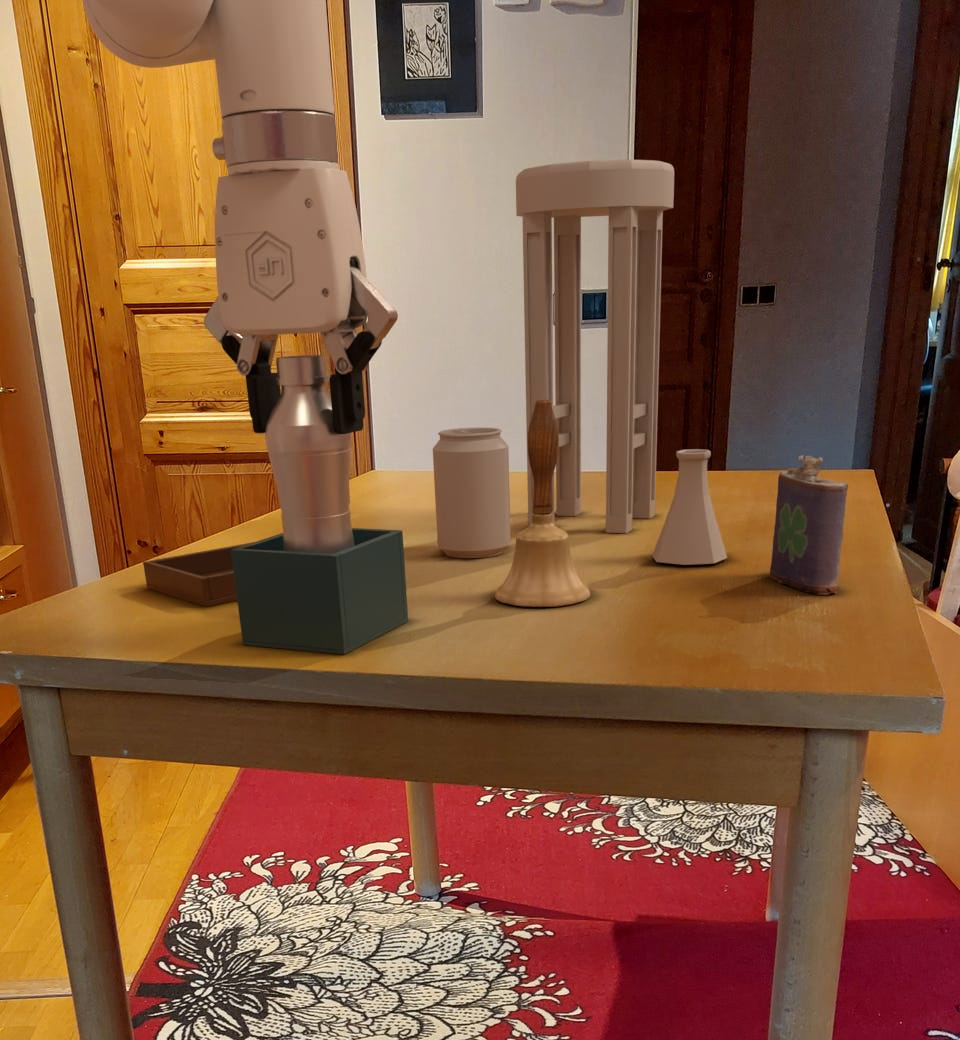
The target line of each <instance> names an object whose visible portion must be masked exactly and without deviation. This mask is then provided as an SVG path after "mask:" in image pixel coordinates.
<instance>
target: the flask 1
mask: <svg viewBox="0 0 960 1040" xmlns="http://www.w3.org/2000/svg"><path fill="white" fill-rule="evenodd" d="M675 452H676V453H675V455H676V458H677V459H678V475H677V479H676V485H675V489H674V495H673V498H672V500H671V503H670V505H669V509H668V512H667V515H666V517H665V520H664V523H663V526H662V529H661V531H660V533H659V536H658V539H657V541H656V544H655V547H654V550H653V552H652V555H651V556H652V558H653V559H654V560H655V562H656V563H663V564H672V565H673V564H674V565H682V566H691V565H692V566H693V565H711V564H717V563H719V562H722V561H723V560H725V559H728V554H727V551H726V548H725V545H724V541H723V538H722V534H721V532H720V527H719V524H718V522H717V518H716V514H715V509H714V506H713V503H712V499H711V495H710V487H709V481H708V461H709V459H710V458H711V456H712V451H711V450H709V449H701V448H691V449H690V448H689V449H680V450H677V451H675Z"/></svg>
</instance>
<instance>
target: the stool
mask: <svg viewBox="0 0 960 1040" xmlns="http://www.w3.org/2000/svg"><path fill="white" fill-rule="evenodd" d="M515 177H516V178H515V210H516V211H515V212H516V217H521V218H522V260H523V261H522V267H523V268H522V269H523V270H522V271H523V310H524V311H523V316H524V317H523V318H524V321H523V322H524V323H523V324H524V362H525V363H524V367H525V371H524V372H525V374H524V375H525V420H526V422H525V423H526V425H525V427H526V467H527V468H526V473H527V474H526V475H527V477H526V478H527V479H526V480H527V520H528V521H527V526H528V527H529V526H530V525H531V523H532V514H533V506H534V504H533V495H534V479H533V474H532V470H531V467H530V463H529V457H528V430H529V425H530V421H531V418H532V415H533V412H534V408H535V403H536V401H537V400H551V403H552V409H553V412H554V416H555V419H556V422H557V427H558V433H559V449H558V457H557V462H556V466H555V472H554V473H553V478H552V506H553V511H552V512H551V513H552V522H553V524H554V525H555V526H556V524H555V522H556V521H555V520H556V519H555V515H556V516H564V517H565V516H566V517H576V516H578V515H580V514H582V218H587V217H588V218H589V217H590V218H591V217H608V229H607V230H608V231H607V232H608V234H607V235H608V237H607V238H608V239H607V245H608V246H607V247H608V248H607V249H608V250H607V260H608V261H607V347H606V351H607V355H606V357H607V358H606V359H607V360H606V361H607V362H606V364H607V365H606V377H607V378H606V456H605V457H606V461H605V462H606V468H605V469H606V471H605V487H606V488H605V491H606V492H605V533H609V534H610V533H612V534H627V533H629V532H630V531H632V530H633V519H647V520H648V519H651V518H653V517H655V516H656V492H657V491H656V489H657V488H656V487H657V485H656V484H657V451H658V450H657V449H658V448H657V446H658V415H659V414H658V413H659V412H658V411H659V410H658V409H659V376H660V375H659V372H660V371H659V370H660V340H661V339H660V338H661V337H660V335H661V334H660V333H661V301H662V300H661V299H662V295H661V294H662V262H663V261H662V260H663V259H662V258H663V256H662V255H663V225H664V224H663V222H664V220H663V217H664V211H667V210H671V209H674V198H675V168H674V166H673V165H672V164H671V163H668V162H664V161H661V160H653V159H603V160H601V159H600V160H599V159H598V160H597V159H595V160H583V161H581V160H580V161H571V162H557V163H550V164H544V165H538V166H533V167H528V168H524V169H523V170H521V171H520V172H518V174H516V176H515ZM552 219H553V220H552ZM552 221H553V224H552ZM552 225H553V226H552ZM552 227H553V231H552ZM553 281H554V283H553ZM553 284H554V285H553ZM553 287H554V288H553ZM553 289H554V290H553ZM553 291H554V294H553ZM553 295H554V297H553ZM553 298H554V299H553ZM553 300H554V313H553ZM553 314H554V322H553ZM553 323H554V324H553ZM553 327H554V329H553ZM553 331H554V332H553ZM554 388H555V389H554ZM554 390H555V392H554ZM554 393H555V394H554ZM554 398H555V403H554ZM555 484H556V485H555ZM555 502H556V503H555ZM555 507H556V508H555ZM555 509H556V511H555ZM555 513H556V514H555ZM528 527H527V528H528Z"/></svg>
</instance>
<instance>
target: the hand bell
mask: <svg viewBox="0 0 960 1040" xmlns="http://www.w3.org/2000/svg"><path fill="white" fill-rule="evenodd" d="M558 449H559V433H558V427H557V422H556V419H555V416H554V412H553V409H552V403H551V400H537V401H536V403H535V408H534V412H533V415H532V418H531V421H530V425H529V430H528V457H529V463H530V467H531V470H532V474H533V479H534V495H533V504H534V506H533V514H532V523H531V525H530V526H529V527H526V528H525V529H522V530H521V531H519V532H518V533H517V534H516V536H515V546H514V554H513V559H512V563H511V567H510V569H509V573H508V574H507V577H506V578H505V579H504V582H502V584H501V585H500V586H498V587H497V589H496V591H495V594H494V598H495V599H496V601H498V602H500V603H502V604H506V605H513V606H518V607H528V608H529V607H530V608H531V607H533V608H543V607H548V608H549V607H563V606H569V605H570V606H571V605H574V604H579V603H581V602H584V601H586V600H588V599H590V597H591V591H590V589H589V587H588V585H586V584H585V583H583V581H582V580H581V578H580V576H579V575H578V573H577V571H576V569H575V566H574V563H573V559H572V554H571V547H570V539H569V534H568V533H567V532H566V531H565V530H563V529H561V528H559V527H558V526H557V525H556V524H555V525H554V524H553V522H552V513H551V512H552V511H553V506H552V478H553V473H554V474H555V471H556V462H557V457H558Z"/></svg>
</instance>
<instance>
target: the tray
mask: <svg viewBox="0 0 960 1040" xmlns="http://www.w3.org/2000/svg"><path fill="white" fill-rule="evenodd" d="M253 542H254V541H252V542H247V543H240V544H236V545H235V544H234V545H230V546H224V547H219V548H214V549H208V550H207V549H206V550H203V551H196V552H191V553H185V554H179V555H173V556H168V557H163V558H156V559H152V560H145V561H142V564H143V570H144V571H143V572H144V577H145V583H146V589H148V590H151V591H154V592H156V593H157V592H158V593H161V594H164V595H167V596H170V597H172V598H177V599H180V600H182V601H185V602H189V603H192V604H195V605H197V606H198V605H199V606H202V607H204V608H208V607H212V606H217V605H221V604H226V603H231V602H237V594H236V586H235V578H234V570H233V563H232V555H231V550H232V549H235V548H238V547H241V546H244V545H247V544H250V543H253Z"/></svg>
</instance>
